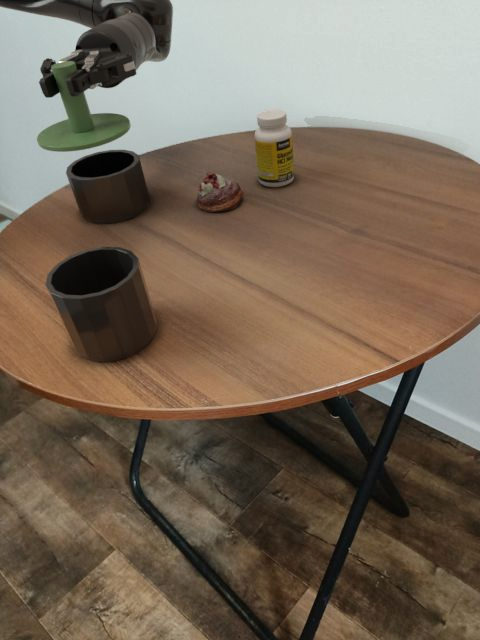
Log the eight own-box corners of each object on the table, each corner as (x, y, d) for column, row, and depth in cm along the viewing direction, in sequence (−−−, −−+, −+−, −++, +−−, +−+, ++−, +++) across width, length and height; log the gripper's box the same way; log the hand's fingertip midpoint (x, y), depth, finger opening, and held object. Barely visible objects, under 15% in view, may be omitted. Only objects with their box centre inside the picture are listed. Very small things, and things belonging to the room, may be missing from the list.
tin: (69, 223, 85) (53, 179, 80) (99, 191, 94) (86, 150, 89) (134, 224, 83) (121, 179, 78) (159, 191, 91) (149, 149, 86)
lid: (22, 157, 69) (-9, 81, 62) (66, 122, 78) (43, 53, 71) (109, 155, 66) (86, 76, 60) (145, 120, 75) (127, 48, 69)
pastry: (189, 201, 87) (183, 172, 84) (227, 187, 90) (223, 158, 87) (212, 218, 82) (207, 188, 79) (252, 202, 85) (249, 172, 81)
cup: (58, 359, 60) (28, 296, 54) (96, 306, 67) (72, 245, 61) (139, 365, 58) (116, 300, 52) (168, 310, 65) (151, 247, 59)
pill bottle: (283, 190, 87) (278, 122, 79) (252, 185, 90) (244, 119, 82) (301, 175, 90) (297, 109, 83) (270, 171, 93) (264, 106, 86)
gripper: (162, 77, 78) (117, 118, 66) (78, 81, 81) (20, 121, 69) (150, 19, 73) (99, 51, 61) (61, 26, 76) (-5, 58, 64)
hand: (57, 88), depth 65 cm, fingers closed on lid, 3 cm apart
